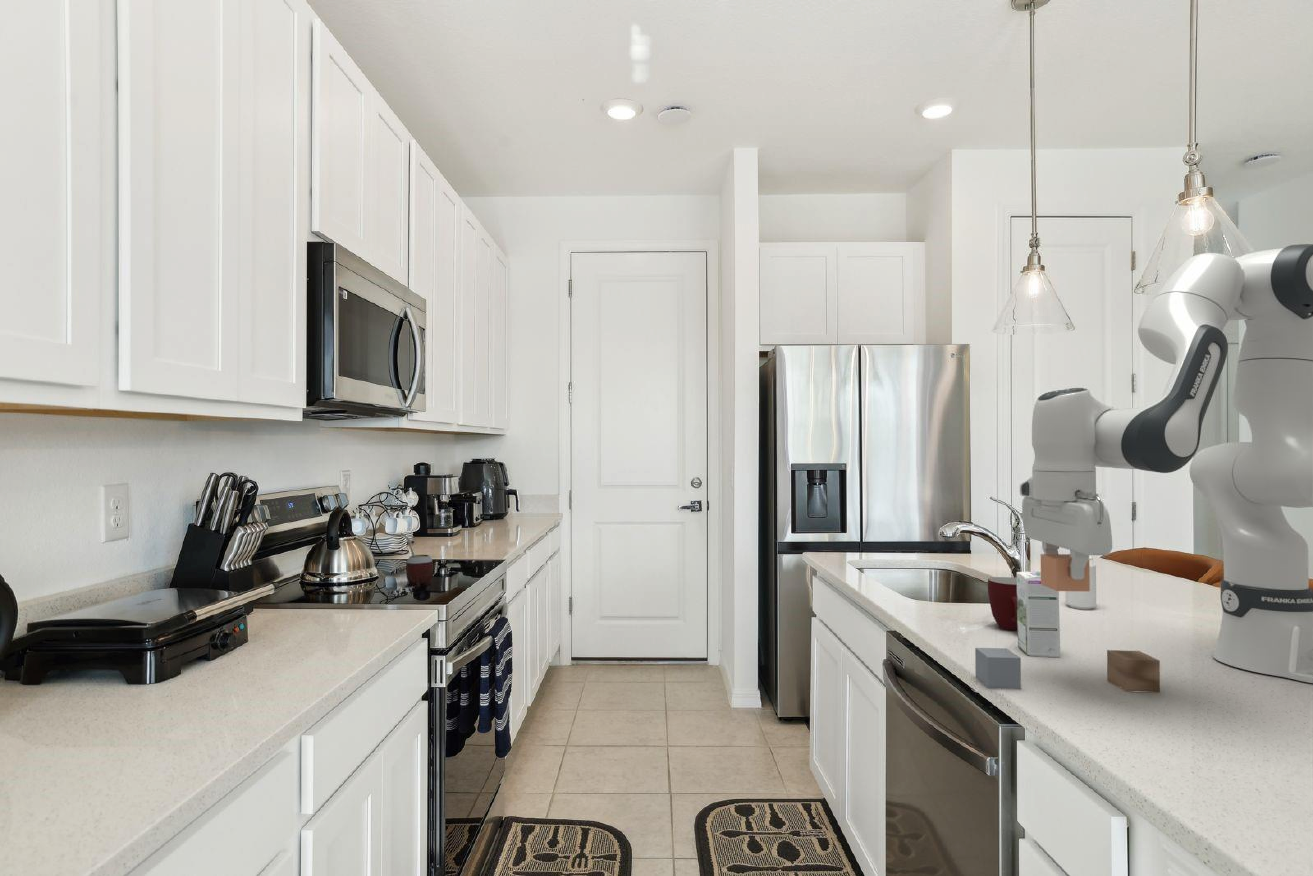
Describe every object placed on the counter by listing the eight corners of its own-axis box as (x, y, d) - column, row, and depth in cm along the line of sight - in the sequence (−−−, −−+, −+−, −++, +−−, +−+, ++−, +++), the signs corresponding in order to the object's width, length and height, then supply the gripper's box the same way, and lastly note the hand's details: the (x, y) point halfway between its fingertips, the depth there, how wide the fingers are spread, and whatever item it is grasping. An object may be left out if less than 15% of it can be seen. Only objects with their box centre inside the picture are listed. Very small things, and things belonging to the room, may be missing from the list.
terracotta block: (1072, 584, 111) (1072, 554, 111) (1089, 591, 106) (1089, 559, 106) (1040, 584, 111) (1040, 554, 111) (1056, 591, 106) (1056, 559, 106)
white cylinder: (1096, 611, 155) (1096, 559, 155) (1064, 608, 158) (1064, 557, 159) (1096, 606, 160) (1096, 555, 160) (1065, 603, 164) (1065, 553, 164)
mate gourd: (435, 582, 189) (435, 528, 189) (429, 588, 181) (429, 532, 181) (407, 583, 188) (407, 529, 188) (400, 589, 180) (400, 533, 180)
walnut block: (1139, 681, 110) (1138, 650, 110) (1159, 692, 105) (1159, 660, 105) (1107, 680, 110) (1107, 650, 111) (1126, 692, 106) (1126, 660, 106)
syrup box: (1061, 658, 122) (1061, 577, 122) (1025, 656, 123) (1025, 576, 123) (1049, 648, 127) (1049, 571, 128) (1015, 646, 129) (1015, 570, 129)
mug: (1045, 637, 135) (1045, 587, 135) (1003, 637, 135) (1003, 587, 135) (1020, 623, 145) (1019, 577, 145) (981, 623, 146) (981, 576, 146)
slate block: (1006, 678, 112) (1006, 648, 112) (1020, 689, 107) (1020, 657, 107) (975, 677, 112) (975, 647, 112) (988, 688, 107) (987, 657, 107)
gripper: (1124, 493, 98) (1125, 588, 98) (1051, 484, 119) (1052, 563, 119) (1079, 493, 99) (1080, 588, 99) (1014, 485, 119) (1015, 563, 119)
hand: (1064, 574), depth 109 cm, fingers closed on terracotta block, 5 cm apart
